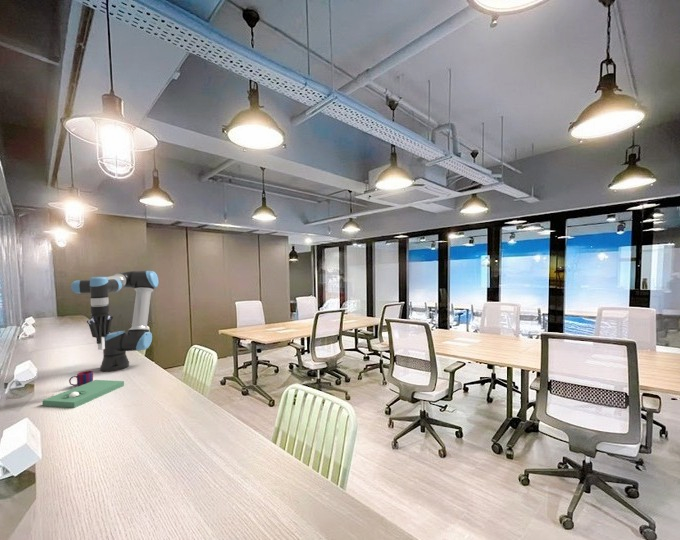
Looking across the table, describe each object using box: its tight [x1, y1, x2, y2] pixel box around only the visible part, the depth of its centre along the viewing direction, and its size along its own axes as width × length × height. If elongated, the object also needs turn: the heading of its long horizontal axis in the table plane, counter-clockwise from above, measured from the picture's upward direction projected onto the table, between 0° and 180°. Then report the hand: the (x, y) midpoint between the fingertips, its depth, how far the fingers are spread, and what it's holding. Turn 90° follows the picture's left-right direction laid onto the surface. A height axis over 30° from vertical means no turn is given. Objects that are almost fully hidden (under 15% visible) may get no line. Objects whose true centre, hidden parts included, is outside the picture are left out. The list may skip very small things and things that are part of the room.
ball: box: [69, 392, 80, 398], centre depth 146 cm, size 4×4×4 cm
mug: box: [68, 370, 94, 387], centre depth 164 cm, size 7×10×7 cm
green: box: [41, 379, 125, 409], centre depth 151 cm, size 26×18×2 cm
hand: (101, 349), depth 160 cm, fingers closed
